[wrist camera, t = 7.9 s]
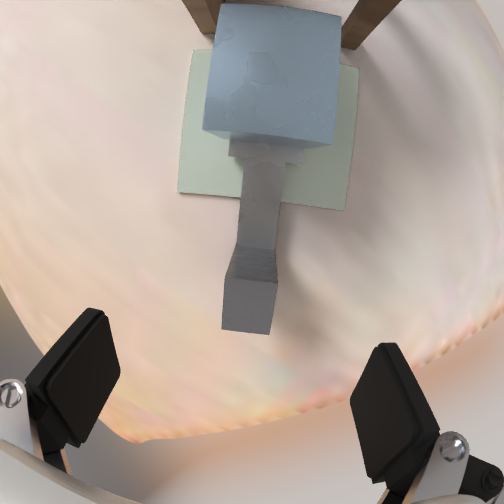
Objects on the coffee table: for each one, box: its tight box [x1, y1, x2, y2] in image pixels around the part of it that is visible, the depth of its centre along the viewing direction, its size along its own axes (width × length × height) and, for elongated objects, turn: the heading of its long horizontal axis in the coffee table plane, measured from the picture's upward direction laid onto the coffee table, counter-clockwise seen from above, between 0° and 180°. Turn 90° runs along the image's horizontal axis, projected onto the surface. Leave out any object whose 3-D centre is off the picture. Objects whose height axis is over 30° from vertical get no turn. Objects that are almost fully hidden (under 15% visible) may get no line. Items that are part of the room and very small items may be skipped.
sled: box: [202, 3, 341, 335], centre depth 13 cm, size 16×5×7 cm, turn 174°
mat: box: [177, 50, 359, 211], centre depth 16 cm, size 10×11×1 cm
